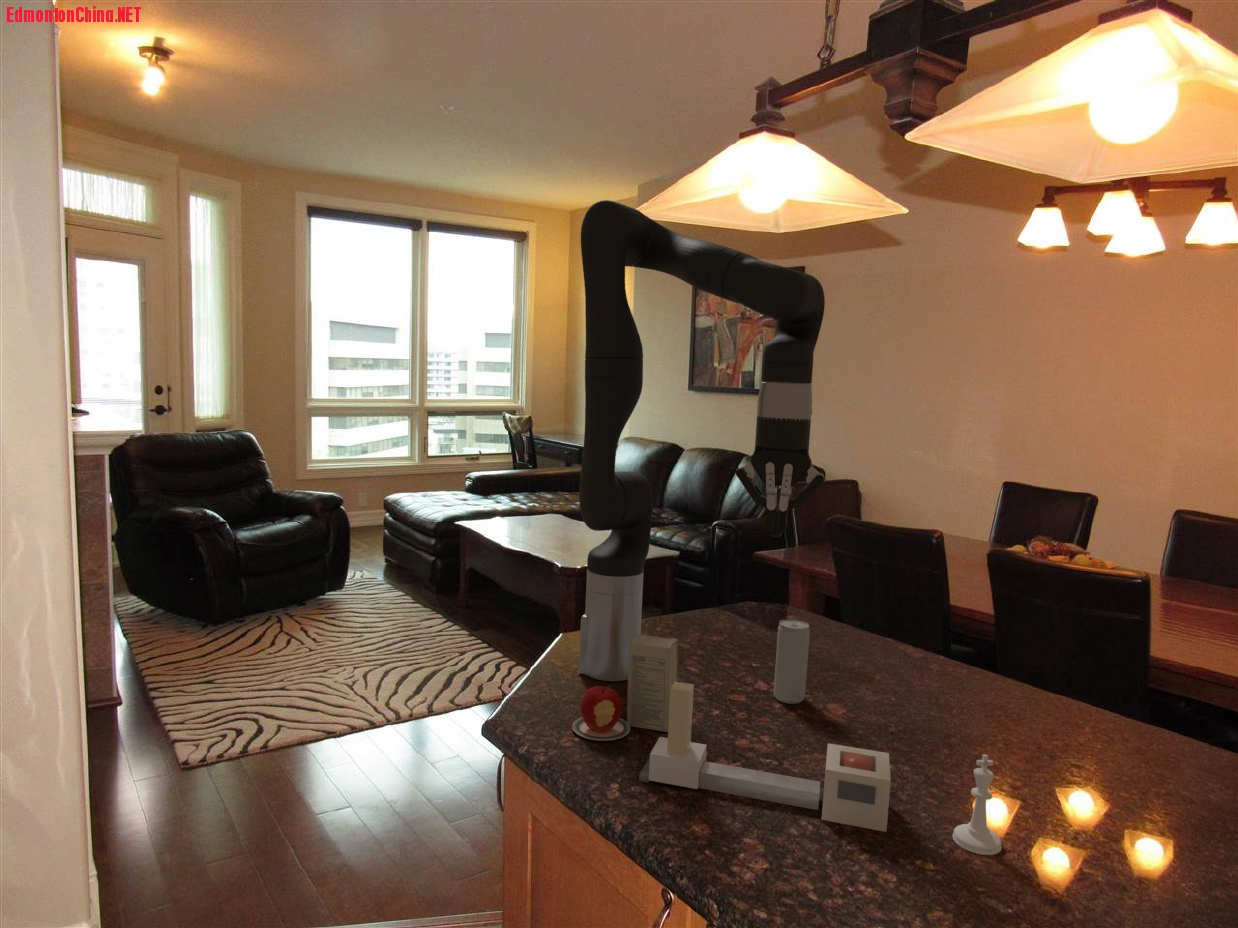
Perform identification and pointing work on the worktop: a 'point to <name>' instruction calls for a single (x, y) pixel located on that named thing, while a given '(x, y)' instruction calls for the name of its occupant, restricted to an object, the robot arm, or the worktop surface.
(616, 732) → the apple
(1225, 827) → the worktop surface
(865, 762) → the button
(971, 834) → the chess piece
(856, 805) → the cream square box
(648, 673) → the skincare box
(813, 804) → the rail
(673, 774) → the carriage
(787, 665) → the beverage can
